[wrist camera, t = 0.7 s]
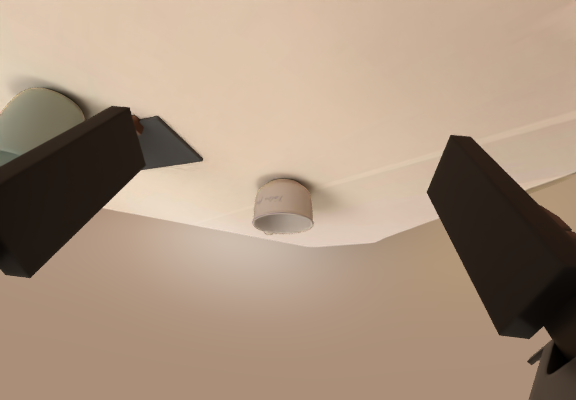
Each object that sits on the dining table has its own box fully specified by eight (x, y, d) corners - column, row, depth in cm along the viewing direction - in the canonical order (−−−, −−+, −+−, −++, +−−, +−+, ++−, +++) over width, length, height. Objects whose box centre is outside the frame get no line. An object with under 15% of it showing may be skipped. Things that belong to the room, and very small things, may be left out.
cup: (81, 129, 41) (53, 190, 37) (12, 96, 36) (-31, 163, 32) (103, 107, 37) (73, 174, 32) (27, 65, 31) (-20, 139, 27)
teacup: (277, 164, 47) (273, 209, 43) (326, 185, 52) (326, 226, 49) (239, 192, 57) (234, 230, 54) (283, 207, 63) (281, 242, 59)
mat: (45, 140, 44) (43, 142, 44) (157, 115, 38) (156, 118, 37) (103, 173, 53) (102, 175, 53) (202, 158, 46) (202, 161, 46)
